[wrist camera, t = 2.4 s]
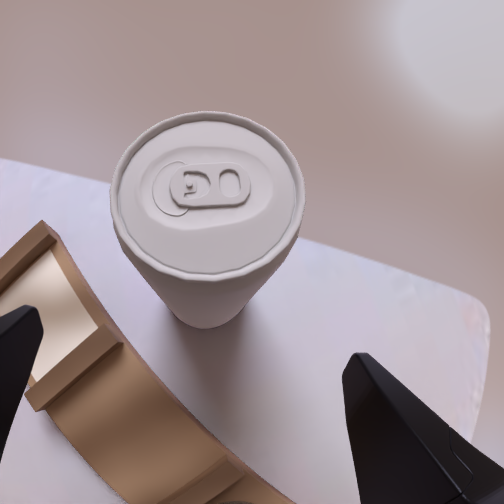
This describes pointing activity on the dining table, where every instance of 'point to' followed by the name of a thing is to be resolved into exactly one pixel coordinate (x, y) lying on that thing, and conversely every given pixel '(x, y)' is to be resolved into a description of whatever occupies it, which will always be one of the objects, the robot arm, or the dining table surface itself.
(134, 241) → the beverage can
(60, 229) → the dining table surface
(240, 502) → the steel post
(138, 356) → the walnut rail
